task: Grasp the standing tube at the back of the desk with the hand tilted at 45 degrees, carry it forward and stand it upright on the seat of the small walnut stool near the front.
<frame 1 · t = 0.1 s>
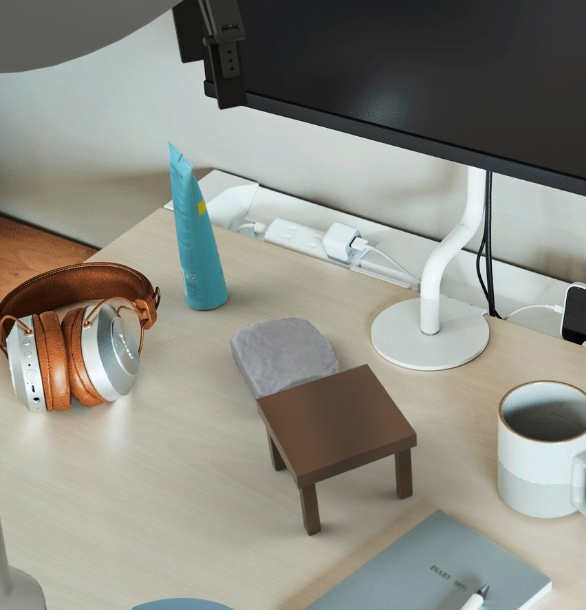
hand: (213, 82, 93), 28 cm above the table, tool pointing down, fingers open, 13 cm apart
stool: (341, 478, 87), on the table
stone block: (290, 375, 100), on the table
tube: (208, 300, 111), on the table
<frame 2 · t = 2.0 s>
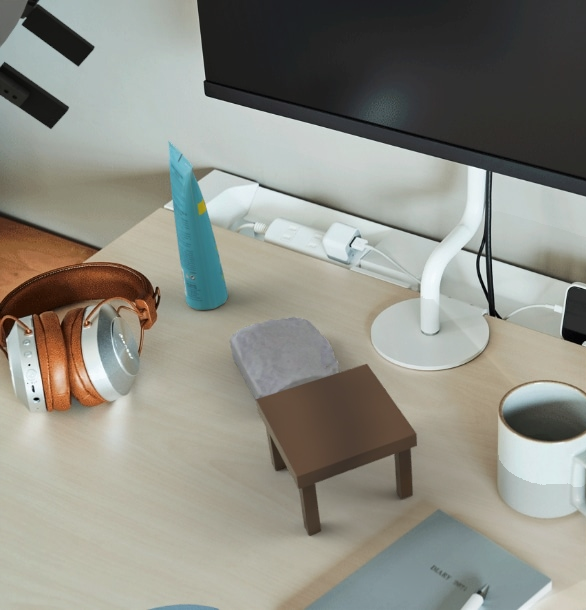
hand: (74, 86, 92), 28 cm above the table, tool tilted 45°, fingers open, 13 cm apart
nothing on the table moved.
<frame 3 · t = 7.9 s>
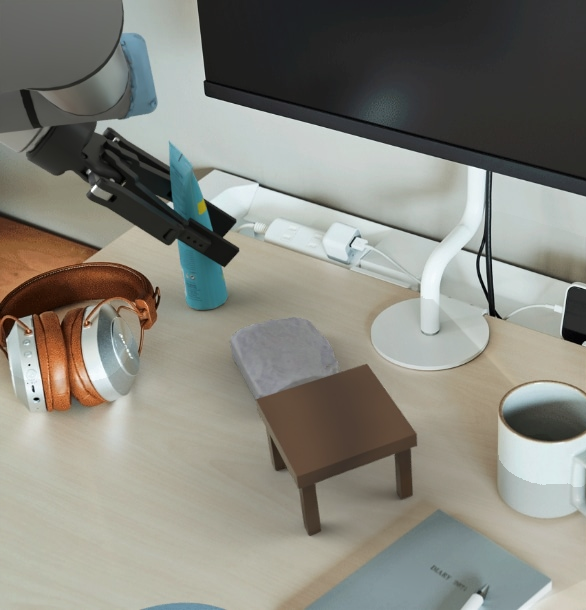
hand: (230, 242, 107), 7 cm above the table, tool tilted 45°, fingers closed on tube, 6 cm apart
tube: (208, 300, 111), on the table, touching gripper
everything else where it was.
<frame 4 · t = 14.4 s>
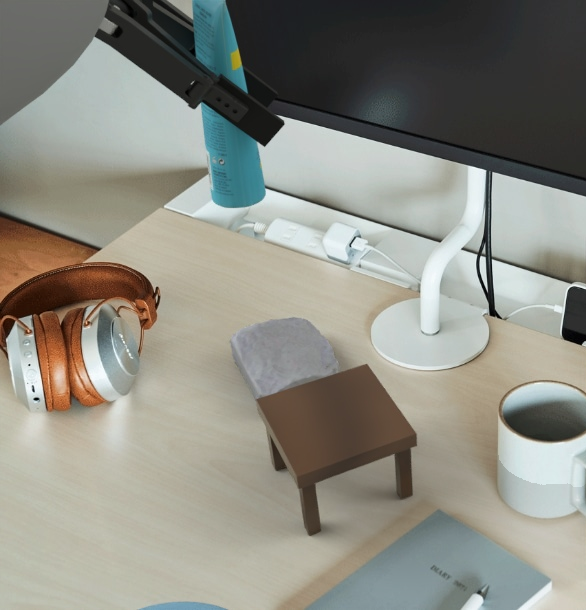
hand: (270, 118, 81), 30 cm above the table, tool tilted 45°, fingers closed on tube, 6 cm apart
tube: (240, 198, 85), point 22 cm above the table, touching gripper
everything else where it was.
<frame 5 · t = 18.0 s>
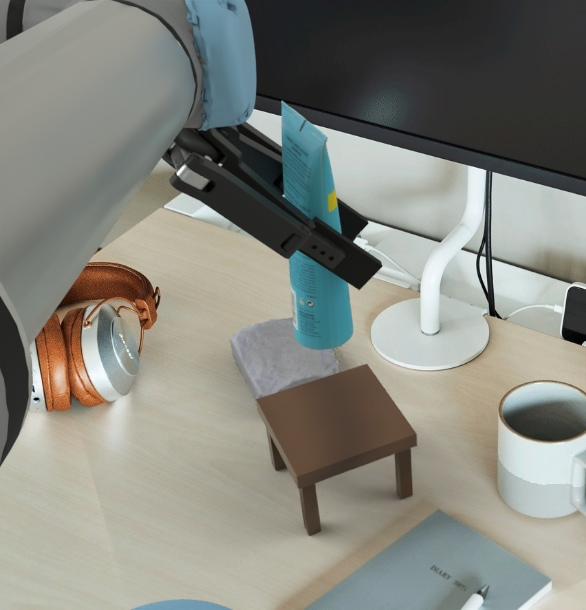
hand: (363, 253, 73), 25 cm above the table, tool tilted 45°, fingers closed on tube, 6 cm apart
tube: (325, 334, 77), point 17 cm above the table, touching gripper
everything else where it was.
when the fingers open (15 cm above the table, at t = 20.9 s): tube stays where it is, resting on stool.
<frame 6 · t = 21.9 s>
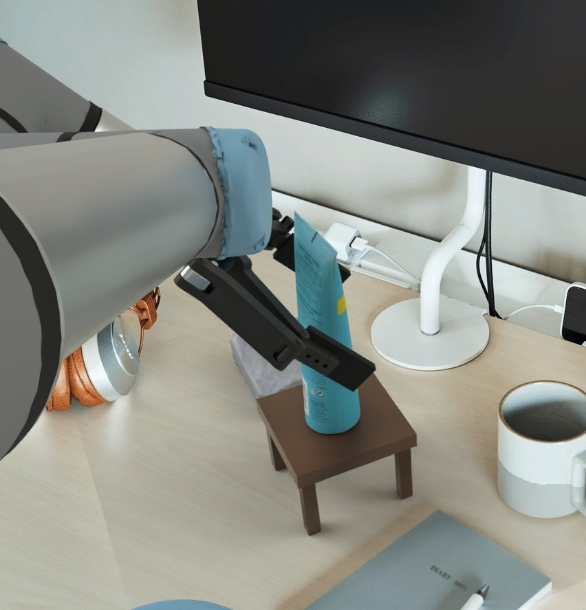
hand: (352, 327, 77), 18 cm above the table, tool tilted 45°, fingers open, 13 cm apart
tube: (334, 417, 82), point 8 cm above the table, touching stool
everything else where it was.
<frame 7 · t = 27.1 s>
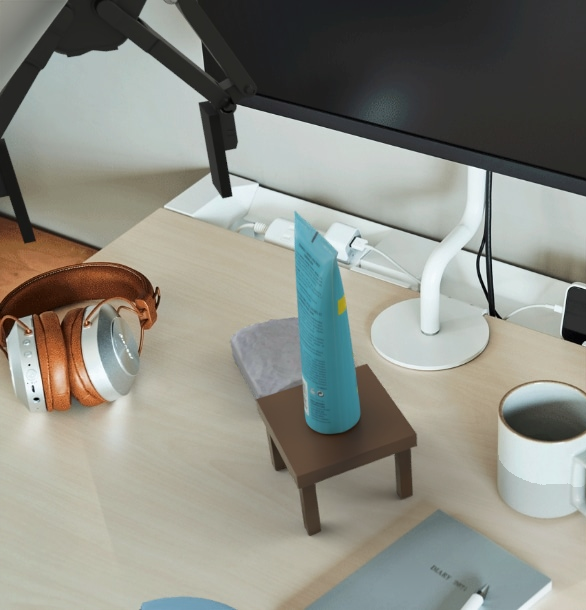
hand: (129, 211, 66), 31 cm above the table, tool pointing down, fingers open, 13 cm apart
nothing on the table moved.
at the end: tube inside the target area on the stool (0.0 cm from its centre), point 7.8 cm above the stool's base; tube tilted 0°; the gripper is holding nothing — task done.
